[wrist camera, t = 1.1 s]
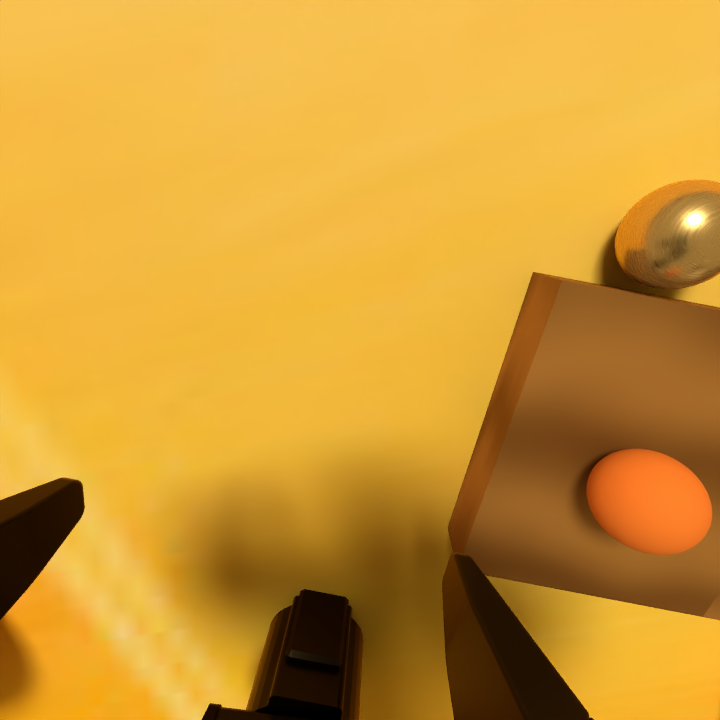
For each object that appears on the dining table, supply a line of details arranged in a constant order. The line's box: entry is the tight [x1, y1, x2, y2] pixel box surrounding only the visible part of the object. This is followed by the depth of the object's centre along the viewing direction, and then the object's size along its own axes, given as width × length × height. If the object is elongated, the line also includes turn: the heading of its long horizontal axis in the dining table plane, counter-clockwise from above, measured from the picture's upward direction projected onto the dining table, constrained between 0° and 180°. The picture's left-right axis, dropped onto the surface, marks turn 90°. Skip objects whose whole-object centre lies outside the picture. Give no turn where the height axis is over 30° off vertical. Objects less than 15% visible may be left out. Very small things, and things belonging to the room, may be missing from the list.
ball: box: [586, 449, 712, 555], centre depth 13 cm, size 3×3×3 cm
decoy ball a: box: [615, 180, 720, 289], centre depth 12 cm, size 3×3×3 cm
